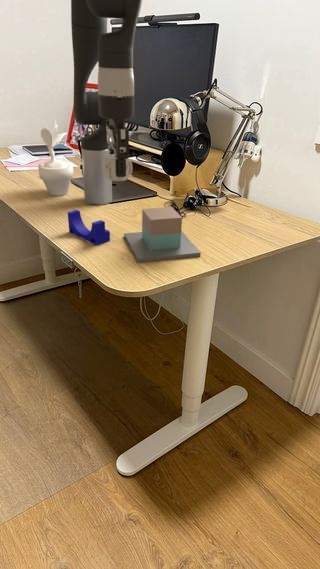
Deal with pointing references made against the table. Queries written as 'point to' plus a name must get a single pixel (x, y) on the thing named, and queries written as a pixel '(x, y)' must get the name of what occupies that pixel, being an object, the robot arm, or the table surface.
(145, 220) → the brick tower
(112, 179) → the die
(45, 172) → the potted plant
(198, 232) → the table surface
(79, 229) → the blue saddle bracket
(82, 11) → the robot arm
